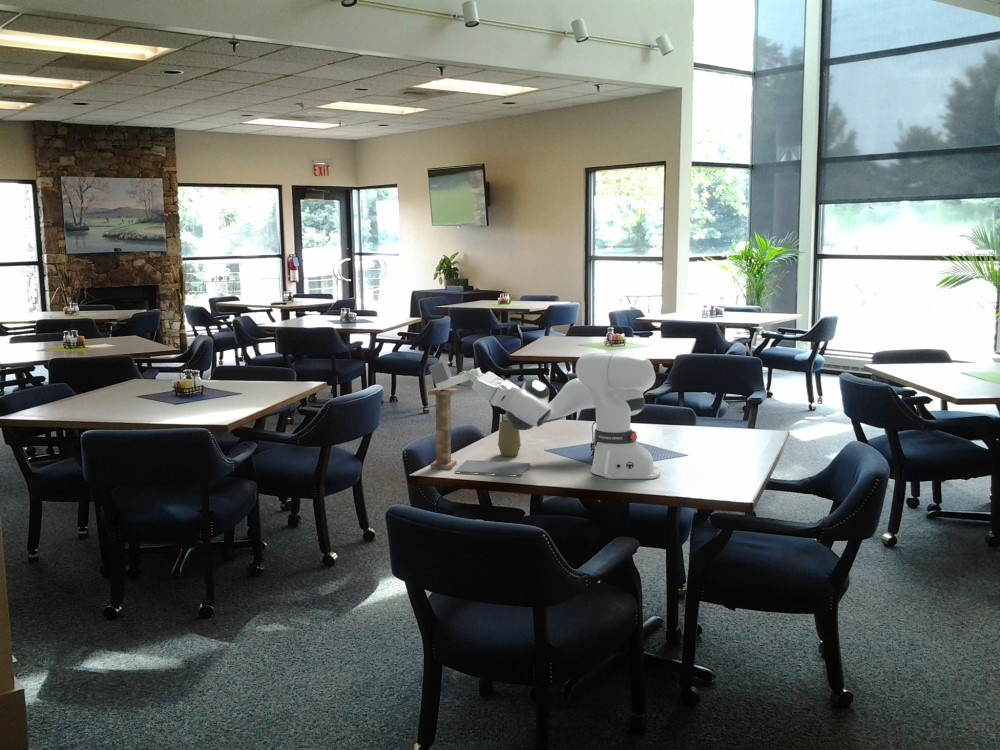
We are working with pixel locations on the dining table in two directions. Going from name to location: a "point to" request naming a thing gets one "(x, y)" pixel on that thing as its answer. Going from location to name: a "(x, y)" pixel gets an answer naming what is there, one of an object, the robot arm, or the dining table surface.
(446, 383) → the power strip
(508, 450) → the squeeze bottle
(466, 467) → the grey flat rectangular slab
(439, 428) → the walnut stand
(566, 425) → the dining table surface
